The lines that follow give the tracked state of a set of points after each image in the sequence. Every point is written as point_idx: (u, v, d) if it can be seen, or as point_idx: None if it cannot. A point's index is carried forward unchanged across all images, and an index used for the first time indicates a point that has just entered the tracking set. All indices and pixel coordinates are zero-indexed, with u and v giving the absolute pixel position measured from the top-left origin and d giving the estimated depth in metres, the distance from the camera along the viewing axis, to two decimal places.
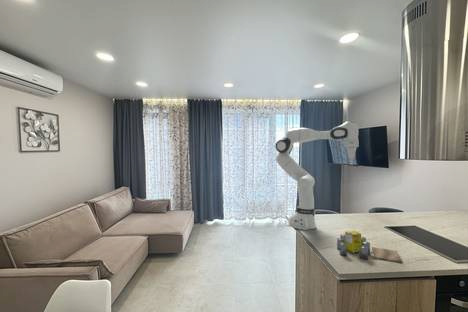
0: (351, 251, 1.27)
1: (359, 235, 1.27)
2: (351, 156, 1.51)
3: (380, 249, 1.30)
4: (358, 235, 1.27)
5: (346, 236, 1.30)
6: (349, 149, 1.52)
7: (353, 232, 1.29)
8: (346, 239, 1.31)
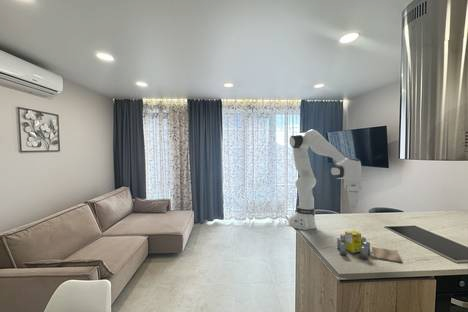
0: (351, 251, 1.27)
1: (359, 235, 1.27)
2: (353, 203, 1.21)
3: (380, 249, 1.30)
4: (358, 235, 1.27)
5: (346, 236, 1.30)
6: (350, 194, 1.22)
7: (353, 232, 1.29)
8: (346, 239, 1.31)
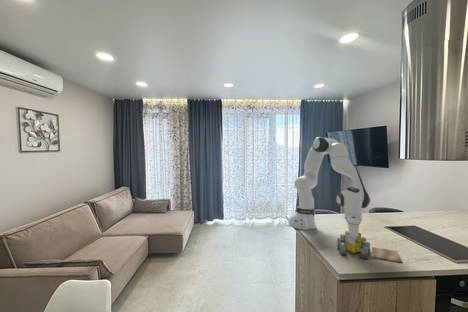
0: (351, 251, 1.27)
1: (359, 235, 1.27)
2: (353, 236, 1.21)
3: (380, 249, 1.30)
4: (358, 235, 1.27)
5: (346, 236, 1.30)
6: (350, 227, 1.22)
7: None
8: (346, 239, 1.31)
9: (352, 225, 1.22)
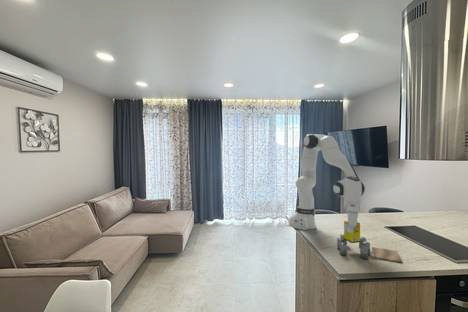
0: (350, 240, 1.27)
1: (358, 224, 1.27)
2: (352, 224, 1.21)
3: (380, 249, 1.30)
4: (357, 224, 1.27)
5: (345, 226, 1.31)
6: (349, 215, 1.22)
7: None
8: (345, 229, 1.31)
9: (351, 213, 1.22)
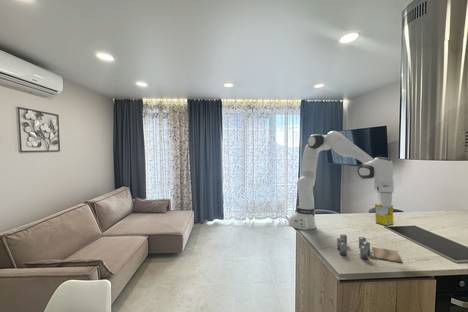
0: (383, 224, 1.22)
1: (391, 207, 1.22)
2: (386, 205, 1.15)
3: (380, 249, 1.30)
4: (390, 207, 1.22)
5: (377, 209, 1.25)
6: (383, 195, 1.16)
7: None
8: (376, 212, 1.25)
9: (385, 194, 1.16)
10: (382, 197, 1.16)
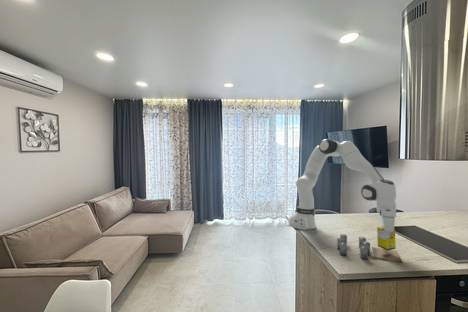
0: (385, 247, 1.22)
1: None
2: (389, 230, 1.15)
3: (380, 249, 1.30)
4: None
5: (379, 232, 1.25)
6: (386, 220, 1.16)
7: None
8: (378, 235, 1.25)
9: (387, 218, 1.16)
10: (385, 222, 1.16)
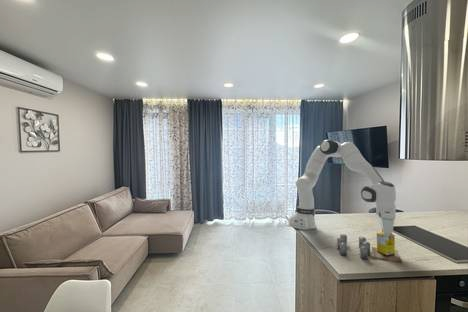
0: (384, 253, 1.22)
1: (392, 237, 1.22)
2: (388, 232, 1.15)
3: None
4: (391, 237, 1.22)
5: (378, 238, 1.25)
6: (385, 222, 1.16)
7: None
8: (378, 241, 1.25)
9: (386, 220, 1.16)
10: (384, 224, 1.16)
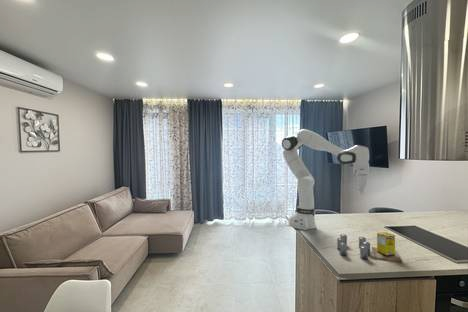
0: (384, 253, 1.22)
1: (393, 237, 1.22)
2: (362, 185, 1.35)
3: None
4: (392, 237, 1.22)
5: (379, 238, 1.25)
6: (359, 177, 1.36)
7: (386, 234, 1.24)
8: (378, 241, 1.25)
9: (361, 175, 1.36)
10: (358, 178, 1.36)
